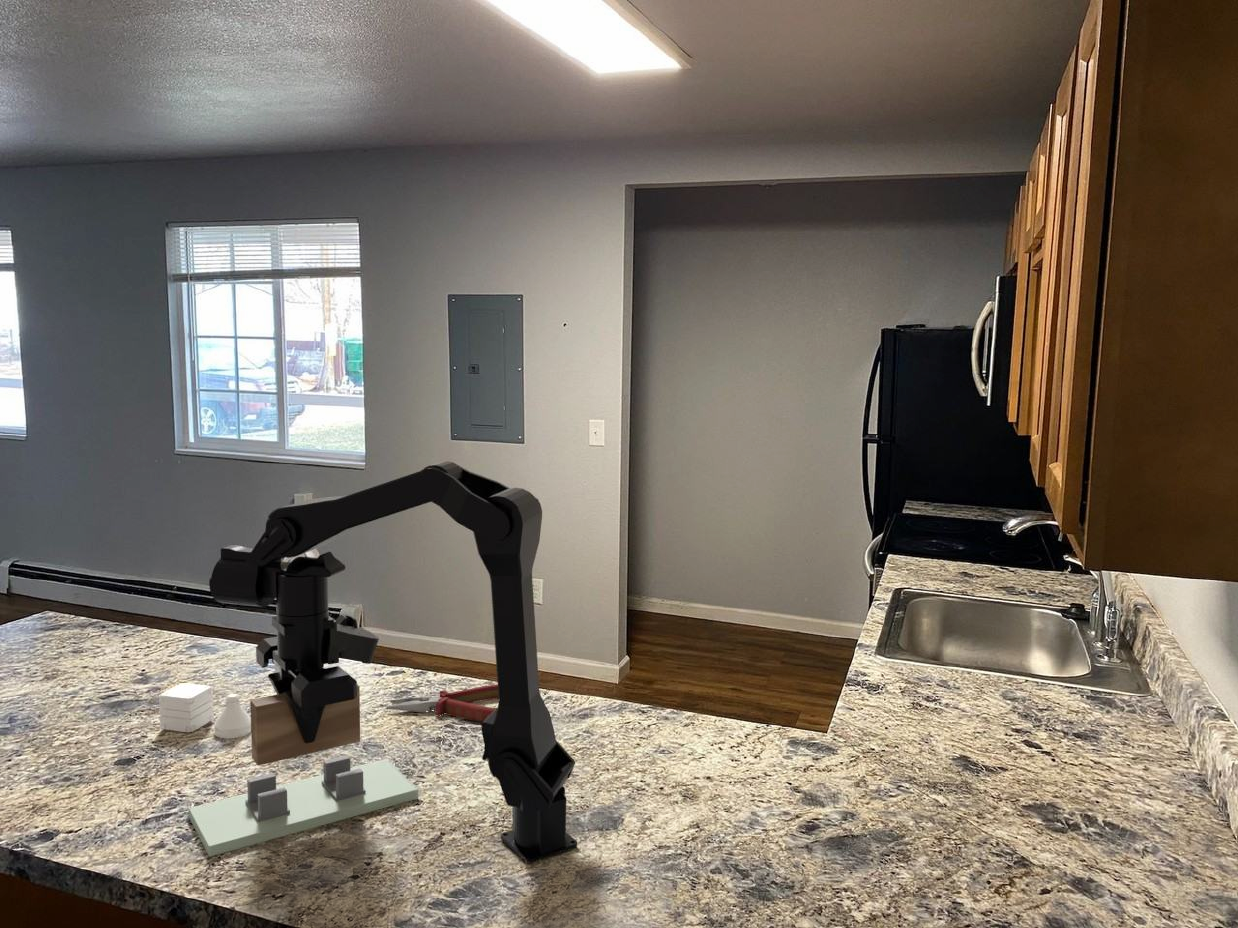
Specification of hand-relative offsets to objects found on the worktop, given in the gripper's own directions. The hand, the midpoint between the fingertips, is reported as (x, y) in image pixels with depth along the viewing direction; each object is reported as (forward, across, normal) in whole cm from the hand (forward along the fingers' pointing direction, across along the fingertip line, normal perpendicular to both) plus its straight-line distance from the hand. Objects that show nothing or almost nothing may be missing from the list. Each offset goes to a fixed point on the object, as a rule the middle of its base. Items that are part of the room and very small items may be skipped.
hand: (305, 738), depth 112 cm
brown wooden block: (+1, 0, 0) cm, 1 cm away
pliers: (+10, +19, -30) cm, 37 cm away
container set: (+9, +28, +2) cm, 29 cm away
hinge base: (+9, 0, 0) cm, 9 cm away
